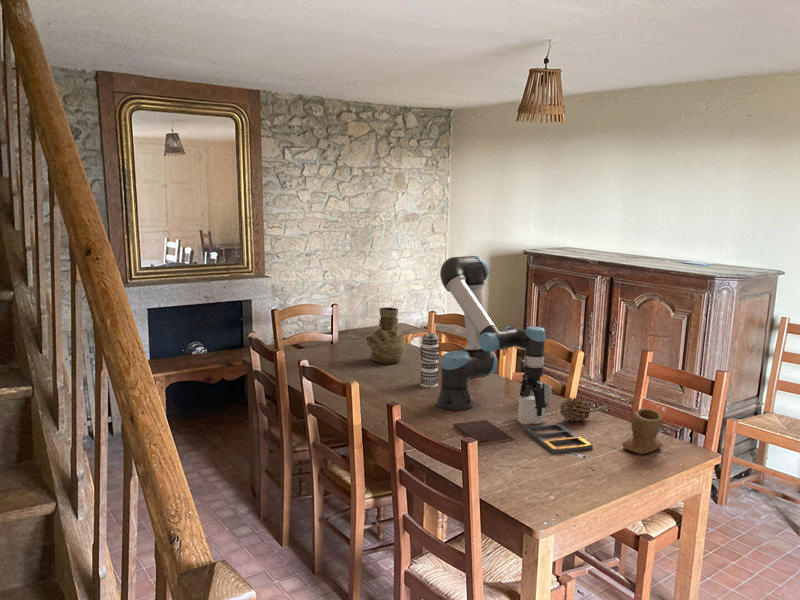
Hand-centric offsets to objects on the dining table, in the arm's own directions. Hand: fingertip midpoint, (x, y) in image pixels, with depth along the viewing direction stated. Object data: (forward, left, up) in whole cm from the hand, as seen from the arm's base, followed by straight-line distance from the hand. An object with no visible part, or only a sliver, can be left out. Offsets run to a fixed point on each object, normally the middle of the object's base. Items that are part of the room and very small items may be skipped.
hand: (531, 418), depth 249 cm
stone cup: (+26, -36, -1) cm, 45 cm away
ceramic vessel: (-34, +103, -1) cm, 108 cm away
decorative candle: (-25, +57, -1) cm, 62 cm away
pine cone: (+21, -4, -1) cm, 22 cm away
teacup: (+14, +21, -1) cm, 26 cm away
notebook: (-25, -7, -2) cm, 26 cm away
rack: (0, -20, -1) cm, 20 cm away
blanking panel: (0, 0, -1) cm, 1 cm away
